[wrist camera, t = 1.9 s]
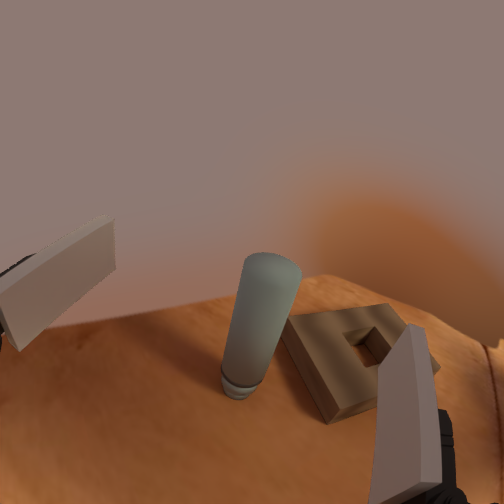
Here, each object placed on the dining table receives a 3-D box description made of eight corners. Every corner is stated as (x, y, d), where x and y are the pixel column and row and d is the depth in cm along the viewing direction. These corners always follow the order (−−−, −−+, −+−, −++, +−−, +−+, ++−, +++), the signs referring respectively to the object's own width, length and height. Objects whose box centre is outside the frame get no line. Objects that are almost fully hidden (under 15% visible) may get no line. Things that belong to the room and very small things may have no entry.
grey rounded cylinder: (249, 370, 33) (287, 252, 25) (262, 401, 30) (312, 285, 22) (212, 375, 32) (236, 252, 23) (222, 408, 28) (255, 288, 20)
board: (378, 319, 46) (387, 302, 44) (427, 382, 35) (441, 367, 33) (280, 335, 39) (287, 316, 37) (327, 425, 28) (340, 409, 26)
